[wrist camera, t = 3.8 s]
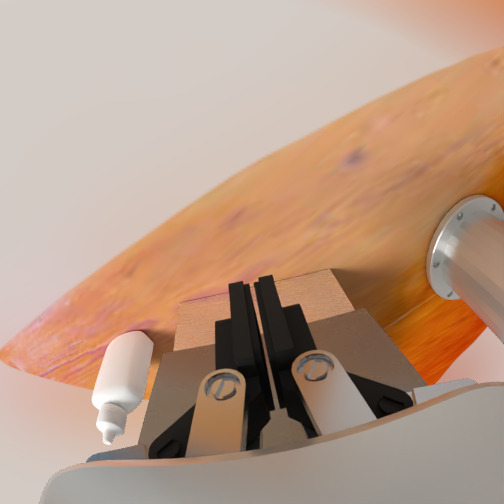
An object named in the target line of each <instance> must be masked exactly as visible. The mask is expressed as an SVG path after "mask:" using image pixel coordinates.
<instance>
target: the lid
mask: <svg viewBox="0 0 504 504" xmlns="http://www.w3.org/2000/svg"><path fill="white" fill-rule="evenodd" d="M307 324H308V326H309V329H310V332H311V334H312V337H313V340H314V342H315V345H316V348H317V350H323V351H327V352H329V353H331V354H333V355H334V356H335V357H336V358H337V359H338V361H339V362H340V364H341V365H342V367H343V368H344V370H345V371H346V372H349V373H352V374H355V375H358V376H361V377H364V378H367V379H370V380H373V381H376V382H379V383H382V384H385V385H388V386H391V387H395V388H398V389H400V390H403V391H405V392H406V393H407V392H412V391H413V388H419V387H425V386H428V385H427V384H426V382H425V381H424V380H423V378H422V377H421V376H420V375H419V373H418V372H417V371H416V370H415V368H414V367H413V366H412V364H411V363H410V362H409V361H408V359H407V358H406V357H405V356H404V354H403V353H402V352H401V351H400V350H399V348H398V347H397V346H396V345H395V343H394V342H393V341H392V340H391V338H390V337H389V336H388V335H387V334H386V332H385V331H384V330H383V329H382V328H381V326H380V325H379V324H378V323H377V322H376V320H375V319H374V318H373V317H372V316H371V314H370V313H369V312H368V311H367V310H366V308H365V307H364V308H361V309H358V310H354V311H351V312H347V313H343V314H340V315H336V316H332V317H329V318H325V319H321V320H317V321H314V322H310V323H307ZM261 338H262V342H263V348H264V353H265V358H266V364H267V369H268V374H269V379H270V385H271V390H272V395H273V401H274V406H275V410H274V411H270V417H271V420H270V421H269V422H268V423H267V425H266V426H265V427H264V428H263V429H262V431H263V448H268V447H274V446H279V445H284V444H289V443H293V442H298V441H302V440H306V437H305V435H304V433H303V431H302V429H301V426H300V422H298V421H296V420H293V419H291V418H289V417H288V414H287V409H286V408H283V409H280V406H279V402H278V398H277V394H276V389H275V385H274V381H273V376H272V372H271V368H270V363H269V359H268V354H267V350H266V345H265V339H264V334H261ZM214 371H216V370H215V344H211V345H206V346H200V347H195V348H189V349H183V350H178V351H172V352H165V353H163V355H162V358H161V361H160V365H159V368H158V372H157V375H156V379H155V382H154V386H153V389H152V393H151V396H150V400H149V403H148V407H147V411H146V414H145V418H144V422H143V426H142V430H141V433H140V438H139V441H138V445H140V444H145V445H146V446H148V445H151V443H152V442H153V441H154V440H155V439H156V438H157V437H158V436H159V435H161V434H162V433H163V432H164V431H165V430H166V429H168V428H169V427H170V426H171V425H172V424H173V423H174V422H175V421H177V420H178V419H179V418H180V417H181V416H182V415H183V414H184V413H186V412H187V411H188V410H189V409H190V408H191V407H192V406H193V405H194V404H196V401H197V396H198V391H199V387H200V384H201V382H202V380H203V379H204V378H205V377H206V376H207V375H209V374H210V373H211V372H214Z"/></svg>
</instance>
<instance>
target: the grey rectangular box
mask: <svg viewBox="0 0 504 504" xmlns="http://www.w3.org/2000/svg"><path fill="white" fill-rule="evenodd" d="M275 286H276V289H277V292H278V296H279V299H280V302H281V306H282V307H286V306H290V305H295V304H300V306H301V308H302V311H303V313H304V316H305V319H306V321H307V323H310V322H314V321H317V320H321V319H325V318H329V317H332V316H336V315H340V314H343V313H347V312H351V311H354V310H355V309H354V307H353V306H352V304H351V302H350V301H349V299H348V298H347V296H346V294H345V293H344V291H343V289H342V288H341V286H340V285H339V283H338V281H337V280H336V278H335V276H334V275H333V273H332V272H331V270H330V269H327V270H323V271H318V272H314V273H310V274H306V275H302V276H298V277H294V278H289V279H285V280H281V281H277V282H275ZM250 290H251V294H252V299H253V303H254V307H255V312H256V316H257V320H258V325H259V329H260V333H261V334H263V329H262V324H261V319H260V314H259V309H258V304H257V299H256V293H255V288H254V287H251V288H250ZM229 318H231V313H230V299H229V292H228V293H224V294H219V295H214V296H210V297H205V298H200V299H196V300H191V301H186V302H181V303H180V304H179V311H178V319H177V326H176V333H175V341H174V349H173V351H178V350H183V349H189V348H195V347H200V346H206V345H211V344H215V321H218V320H224V319H229Z"/></svg>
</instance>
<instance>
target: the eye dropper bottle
mask: <svg viewBox="0 0 504 504" xmlns="http://www.w3.org/2000/svg"><path fill="white" fill-rule="evenodd" d="M153 346H154V343H153V342H152V341H151V339H150V338H148V337H147V336H146V335H145V334H144V333H143V332H142V331H131V332H127V333H124V334H121V335H119V336H118V337H116V338H115V339H114V340H113V341H112V342H111V343H110V344H109V346H108V348H107V350H106V353H105V356H104V359H103V362H102V365H101V368H100V371H99V374H98V377H97V381H96V384H95V387H94V391H93V395H92V403H93V405H94V406H95V407H96V408H97V409H98V410H100V411H99V415H98V419H97V423H96V426H97V428H98V429H99V430H100V431H101V432H103V443H105V444H107V445H111V444H112V441H113V439H114V437H115V436H121V435H123V434H124V429H125V424H126V419H127V414H129V413H130V412H132V411H133V410H134V409H136V408H137V406H139V404H140V403H141V402H142V400H143V398H144V395H145V390H146V385H147V379H148V374H149V368H150V363H151V357H152V352H153Z"/></svg>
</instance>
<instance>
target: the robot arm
mask: <svg viewBox="0 0 504 504" xmlns="http://www.w3.org/2000/svg"><path fill="white" fill-rule="evenodd" d="M426 274H427V279H428V282H429V284H430V286H431V288H432V289H433V290H434V291H435V292H436V293H437V294H438V295H439V296H440V297H442V298H444V299H447V300H456V299H462V300H463V301H464V302H465V303H466V304H467V305H468V306H469V307H470V308H471V309H472V310H473V311H474V312H475V313H476V314H477V315H478V316H479V317H480V319H481V320H482V321H483V322H484V323H485V324H486V325H487V326H488V327H489V328H490V329H491V330H492V332H493V333H494V334H495V335H496V336H497V337H498V338H499V339H500V340H501V342H502V343H503V344H504V212H503V210H502V208H501V206H500V205H499V204H498V203H497V202H496V201H495V200H493V199H491V198H489V197H487V196H485V195H473V196H469V197H467V198H465V199H463V200H461V201H460V202H459V203H457V204H456V205H455V206H454V207H453V208H452V209H451V210H450V211H449V212H448V213H447V214H446V215H445V217H444V218H443V219H442V221H441V222H440V224H439V226H438V228H437V229H436V231H435V233H434V235H433V238H432V240H431V243H430V246H429V250H428V253H427V260H426ZM258 279H259V282H254V288H255V293H256V299H257V304H258V309H259V314H260V319H261V324H262V329H263V334H264V339H265V345H266V350H267V354H268V359H269V363H270V368H271V372H272V376H273V381H274V385H275V389H276V394H277V398H278V402H279V406H280V409H283V408H286V409H287V414H288V417H289V418H291V419H293V420H296V421H298V422H300V426H301V429H302V431H303V433H304V435H305V437H306V440H302V441H298V442H293V443H289V444H284V445H279V446H274V447H268V448H263V431H262V429H263V428H264V427H265V426H266V425H267V423H268V422H269V421H270V420H271V417H270V411H274V410H275V406H274V401H273V395H272V390H271V385H270V379H269V374H268V369H267V364H266V358H265V353H264V348H263V342H262V338H261V333H260V329H259V325H258V320H257V316H256V312H255V307H254V303H253V299H252V294H251V290H250V286H249V284H245V285H244V284H243V281H241V282H236V283H231V284H229V299H230V313H231V318H229V319H224V320H218V321H215V370H216V371H214V372H211V373H210V374H209V375H207V376H206V377H205V378H204V379H203V380H202V382H201V384H200V387H199V391H198V396H197V401H196V404H194V405H193V406H192V407H191V408H190V409H189V410H188V411H187V412H186V413H184V414H183V415H182V416H181V417H180V418H179V419H178V420H177V421H175V422H174V423H173V424H172V425H171V426H170V427H169V428H168V429H166V430H165V431H164V432H163V433H162V434H161V435H159V436H158V437H157V438H156V439H155V440H154V441H153V442H152V443H151V445H148V446H146V445H145V444H140V445H135V446H131V447H127V448H122V449H117V450H112V451H108V452H101V453H97V454H94V455H92V456H91V457H90V458H88V459H87V461H86V463H81V464H77V465H74V466H71V467H67V468H65V469H62V470H60V471H59V472H57V473H55V474H54V475H53V476H52V477H51V478H50V479H49V480H48V482H47V484H46V486H45V488H44V490H43V493H42V496H41V499H40V502H39V504H504V382H488V383H487V382H486V383H480V384H478V383H477V382H475V381H474V380H471V379H468V378H466V379H458V380H455V381H449V382H445V383H440V384H435V385H430V386H425V387H419V388H413V391H412V392H407V393H406V392H405V391H403V390H400V389H398V388H395V387H391V386H388V385H385V384H382V383H379V382H376V381H373V380H370V379H367V378H364V377H361V376H358V375H355V374H352V373H349V372H346V371H345V370H344V368H343V367H342V365H341V364H340V362H339V361H338V359H337V358H336V357H335V356H334V355H333V354H331V353H329V352H327V351H323V350H317V348H316V345H315V342H314V340H313V337H312V334H311V332H310V329H309V326H308V324H307V321H306V319H305V316H304V313H303V311H302V308H301V306H300V304H295V305H290V306H286V307H282V306H281V302H280V299H279V296H278V292H277V289H276V286H275V282H274V279H273V276H272V275H269V276H264V277H259V278H258Z"/></svg>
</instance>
